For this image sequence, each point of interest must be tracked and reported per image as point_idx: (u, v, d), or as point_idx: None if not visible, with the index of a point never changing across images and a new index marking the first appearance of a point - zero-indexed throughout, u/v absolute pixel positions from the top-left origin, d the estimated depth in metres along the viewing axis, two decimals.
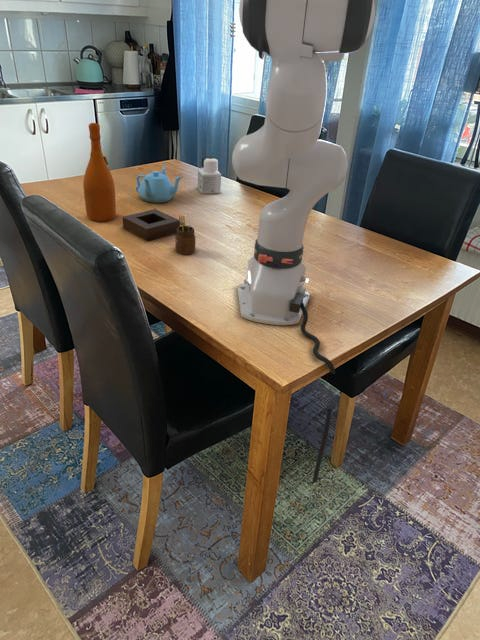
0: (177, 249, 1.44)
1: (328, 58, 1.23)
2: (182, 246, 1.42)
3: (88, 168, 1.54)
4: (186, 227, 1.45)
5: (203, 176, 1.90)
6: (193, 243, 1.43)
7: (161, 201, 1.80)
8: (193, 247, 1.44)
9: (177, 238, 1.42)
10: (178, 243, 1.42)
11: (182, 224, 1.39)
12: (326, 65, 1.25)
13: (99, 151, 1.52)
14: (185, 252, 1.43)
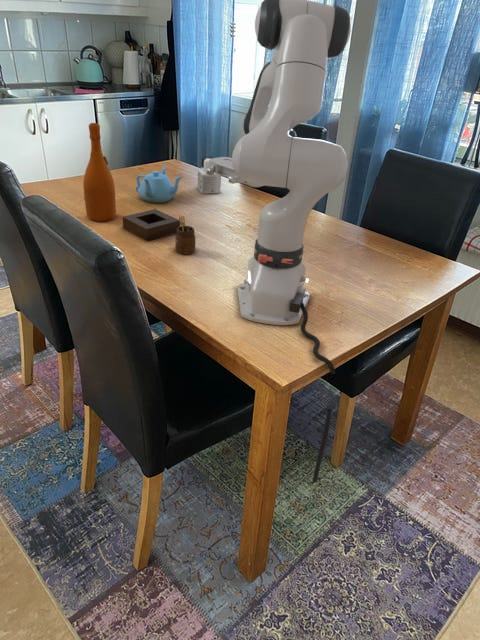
0: (177, 249, 1.44)
1: None
2: (182, 246, 1.42)
3: (88, 168, 1.54)
4: (186, 227, 1.45)
5: (203, 176, 1.90)
6: (193, 243, 1.43)
7: (161, 201, 1.80)
8: (193, 247, 1.44)
9: (177, 238, 1.42)
10: (178, 243, 1.42)
11: (182, 224, 1.39)
12: None
13: (99, 151, 1.52)
14: (185, 252, 1.43)
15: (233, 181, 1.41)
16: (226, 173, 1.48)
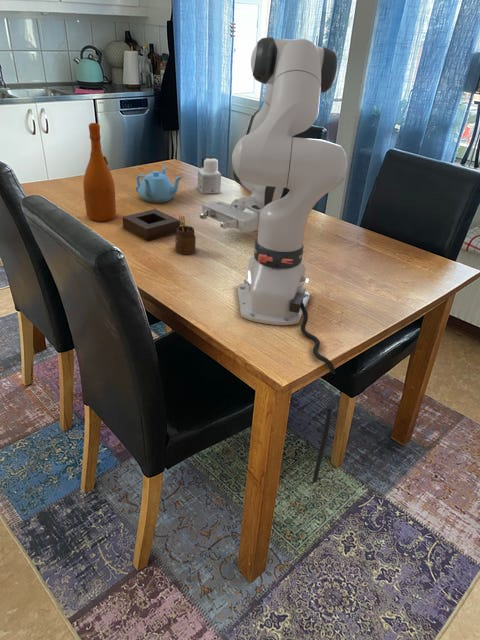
0: (177, 249, 1.44)
1: (238, 217, 1.47)
2: (182, 246, 1.42)
3: (88, 168, 1.54)
4: (186, 227, 1.45)
5: (203, 176, 1.90)
6: (193, 243, 1.43)
7: (161, 201, 1.80)
8: (193, 247, 1.44)
9: (177, 238, 1.42)
10: (178, 243, 1.42)
11: (182, 224, 1.39)
12: (234, 220, 1.47)
13: (99, 151, 1.52)
14: (185, 252, 1.43)
15: (225, 226, 1.46)
16: (219, 217, 1.54)
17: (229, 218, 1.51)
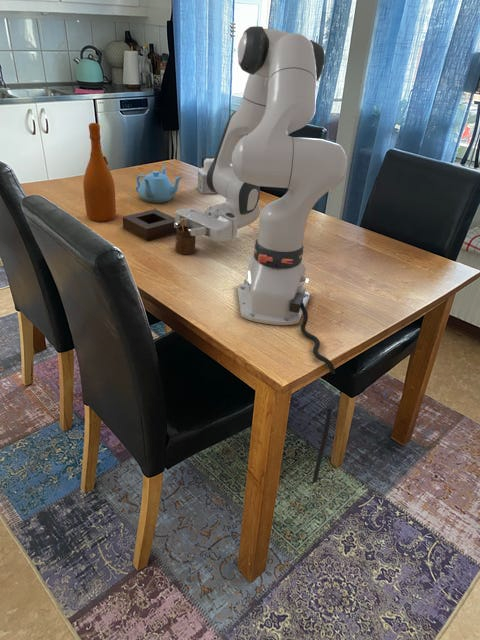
0: (177, 249, 1.44)
1: (211, 226, 1.41)
2: (182, 246, 1.42)
3: (88, 168, 1.54)
4: (186, 227, 1.45)
5: (203, 176, 1.90)
6: (193, 243, 1.43)
7: (161, 201, 1.80)
8: (193, 247, 1.44)
9: (177, 238, 1.42)
10: (178, 243, 1.42)
11: (182, 224, 1.39)
12: (202, 228, 1.41)
13: (99, 151, 1.52)
14: (185, 252, 1.43)
15: (193, 234, 1.40)
16: (191, 225, 1.47)
17: (202, 226, 1.44)
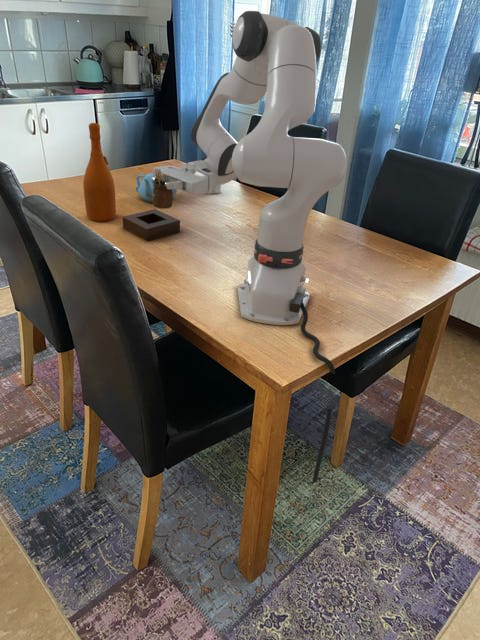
0: (154, 203, 1.47)
1: (187, 180, 1.43)
2: (159, 200, 1.45)
3: (88, 168, 1.54)
4: (163, 182, 1.47)
5: None
6: (170, 197, 1.46)
7: None
8: (170, 201, 1.47)
9: (154, 192, 1.45)
10: (155, 197, 1.45)
11: (158, 177, 1.42)
12: (178, 181, 1.44)
13: (99, 151, 1.52)
14: (162, 206, 1.46)
15: (169, 187, 1.43)
16: (169, 181, 1.50)
17: None
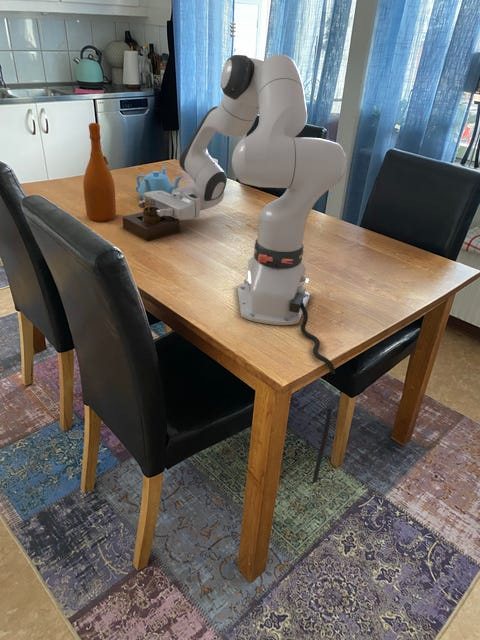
0: None
1: (174, 206, 1.52)
2: None
3: (88, 168, 1.54)
4: (152, 208, 1.57)
5: None
6: None
7: None
8: None
9: (144, 218, 1.54)
10: None
11: (148, 204, 1.51)
12: (170, 209, 1.52)
13: (99, 151, 1.52)
14: None
15: (161, 214, 1.51)
16: (158, 206, 1.59)
17: (167, 206, 1.56)
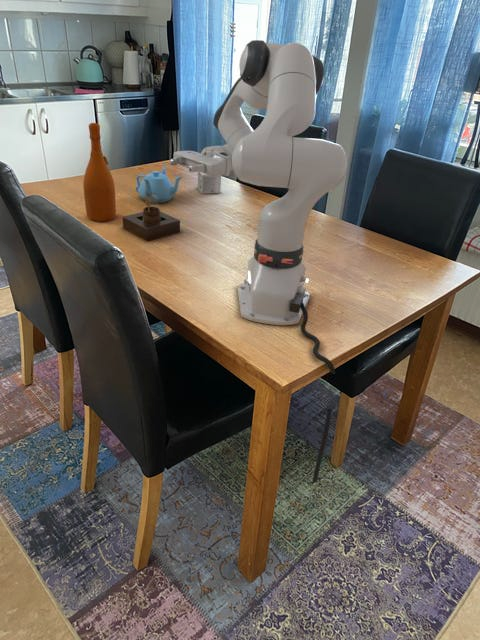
0: None
1: (206, 162, 1.54)
2: None
3: (88, 168, 1.54)
4: (152, 208, 1.57)
5: (203, 176, 1.90)
6: None
7: (161, 201, 1.80)
8: None
9: (144, 218, 1.54)
10: None
11: (148, 204, 1.51)
12: (202, 165, 1.54)
13: (99, 151, 1.52)
14: None
15: (193, 170, 1.53)
16: (189, 164, 1.61)
17: (198, 164, 1.58)
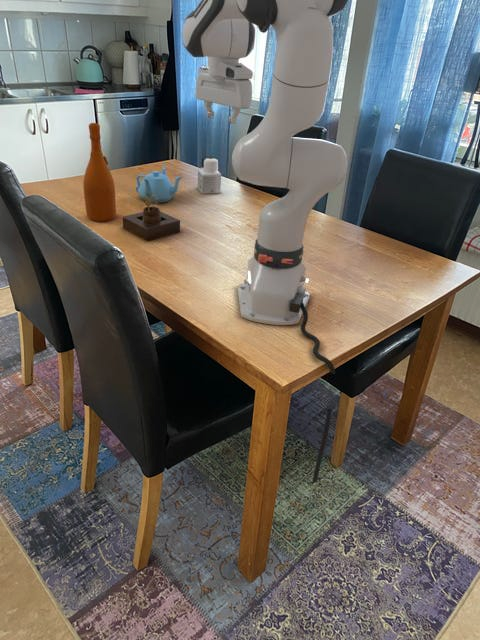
0: None
1: (233, 105, 1.37)
2: None
3: (88, 168, 1.54)
4: (152, 208, 1.57)
5: (203, 176, 1.90)
6: None
7: (161, 201, 1.80)
8: None
9: (144, 218, 1.54)
10: None
11: (148, 204, 1.51)
12: (234, 111, 1.39)
13: (99, 151, 1.52)
14: None
15: (234, 121, 1.41)
16: None
17: None
